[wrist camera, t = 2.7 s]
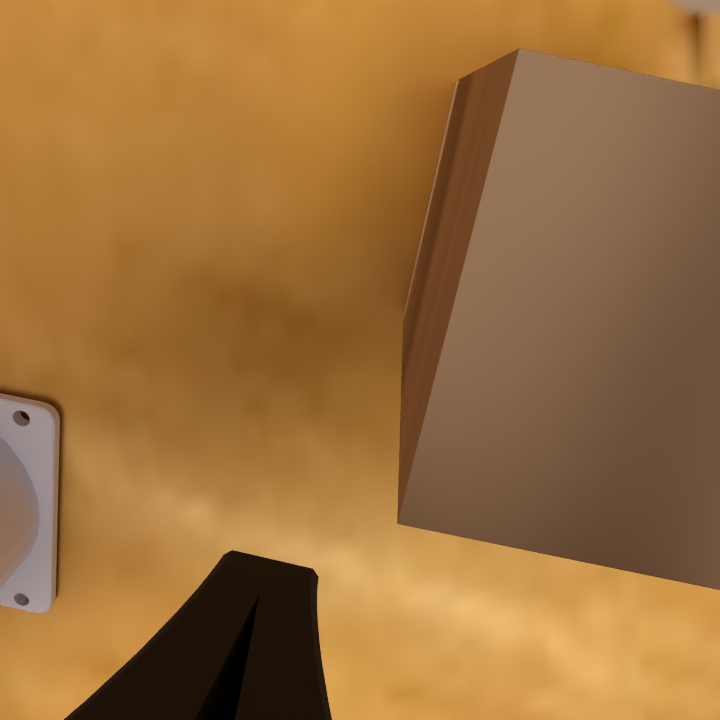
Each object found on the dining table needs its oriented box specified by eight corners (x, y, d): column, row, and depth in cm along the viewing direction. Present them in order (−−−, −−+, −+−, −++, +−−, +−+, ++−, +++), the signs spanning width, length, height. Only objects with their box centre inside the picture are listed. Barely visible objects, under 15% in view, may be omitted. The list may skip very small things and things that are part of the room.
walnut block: (403, 311, 18) (397, 523, 9) (456, 81, 16) (519, 48, 7) (579, 347, 18) (754, 596, 9) (655, 123, 16) (991, 146, 7)
